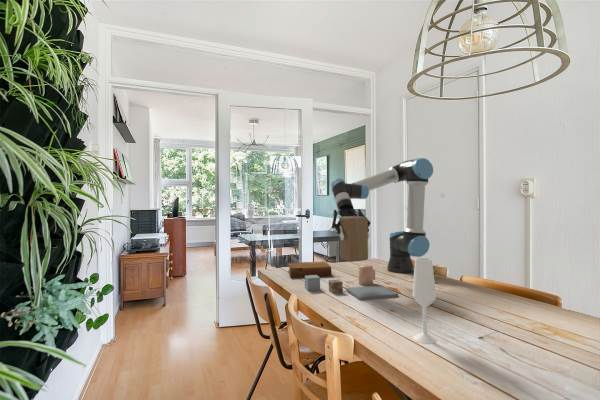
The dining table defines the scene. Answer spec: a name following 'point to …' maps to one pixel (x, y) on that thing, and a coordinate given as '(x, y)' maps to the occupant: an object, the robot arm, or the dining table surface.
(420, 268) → the champagne flute
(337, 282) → the walnut cube
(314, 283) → the blue grey box
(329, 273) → the diary
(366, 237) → the wooden block
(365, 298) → the slate grey board
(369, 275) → the peach rounded cylinder
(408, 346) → the dining table surface
